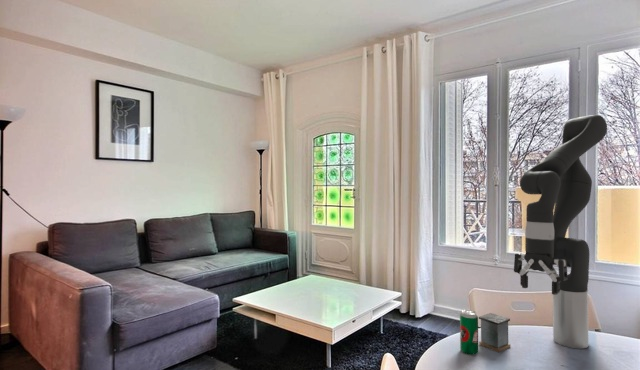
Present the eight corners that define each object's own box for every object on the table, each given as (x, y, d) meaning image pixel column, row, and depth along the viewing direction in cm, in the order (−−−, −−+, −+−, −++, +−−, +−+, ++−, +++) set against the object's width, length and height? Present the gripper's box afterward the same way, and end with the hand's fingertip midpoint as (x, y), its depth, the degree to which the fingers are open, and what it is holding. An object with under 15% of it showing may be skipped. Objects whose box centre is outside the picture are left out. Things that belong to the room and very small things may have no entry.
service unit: (490, 340, 117) (490, 312, 117) (510, 347, 112) (510, 318, 112) (479, 344, 114) (478, 316, 114) (498, 352, 108) (498, 323, 108)
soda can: (477, 357, 105) (476, 316, 106) (459, 353, 108) (458, 313, 108) (479, 350, 110) (478, 310, 110) (461, 346, 112) (461, 308, 112)
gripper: (571, 239, 105) (571, 295, 105) (522, 234, 117) (521, 284, 117) (559, 240, 101) (559, 298, 101) (509, 235, 113) (509, 287, 112)
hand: (539, 290), depth 109 cm, fingers open, 8 cm apart
